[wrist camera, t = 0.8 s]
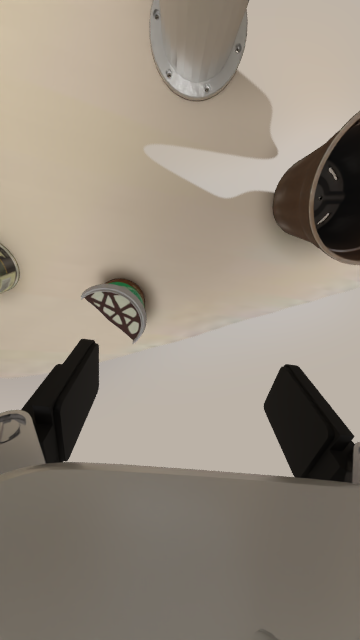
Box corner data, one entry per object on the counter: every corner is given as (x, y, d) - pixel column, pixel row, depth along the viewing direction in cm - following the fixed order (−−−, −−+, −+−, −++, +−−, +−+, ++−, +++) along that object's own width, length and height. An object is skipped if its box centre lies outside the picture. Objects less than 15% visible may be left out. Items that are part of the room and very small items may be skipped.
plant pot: (239, 212, 38) (279, 212, 24) (309, 112, 33) (416, 32, 18) (303, 263, 43) (369, 289, 28) (375, 182, 37) (505, 162, 22)
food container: (163, 303, 46) (160, 325, 37) (142, 320, 47) (135, 346, 38) (119, 258, 41) (103, 271, 32) (98, 279, 43) (77, 296, 34)
